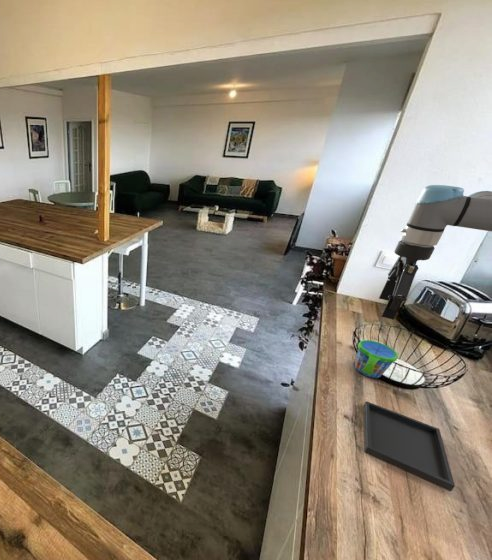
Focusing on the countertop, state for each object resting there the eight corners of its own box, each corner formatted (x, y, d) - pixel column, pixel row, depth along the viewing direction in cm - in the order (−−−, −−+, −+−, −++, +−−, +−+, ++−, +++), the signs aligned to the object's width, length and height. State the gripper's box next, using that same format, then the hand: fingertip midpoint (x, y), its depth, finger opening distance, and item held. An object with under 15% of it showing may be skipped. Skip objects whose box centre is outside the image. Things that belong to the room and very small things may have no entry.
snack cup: (357, 355, 119) (367, 333, 115) (392, 370, 112) (404, 348, 107) (341, 371, 111) (351, 349, 106) (377, 390, 103) (390, 366, 99)
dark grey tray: (435, 433, 88) (439, 428, 88) (450, 491, 74) (455, 486, 73) (363, 405, 97) (365, 400, 96) (364, 452, 83) (367, 447, 82)
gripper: (395, 230, 97) (369, 289, 107) (404, 252, 79) (371, 321, 89) (428, 234, 93) (397, 296, 103) (444, 259, 75) (406, 331, 85)
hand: (385, 308), depth 96 cm, fingers open, 13 cm apart
